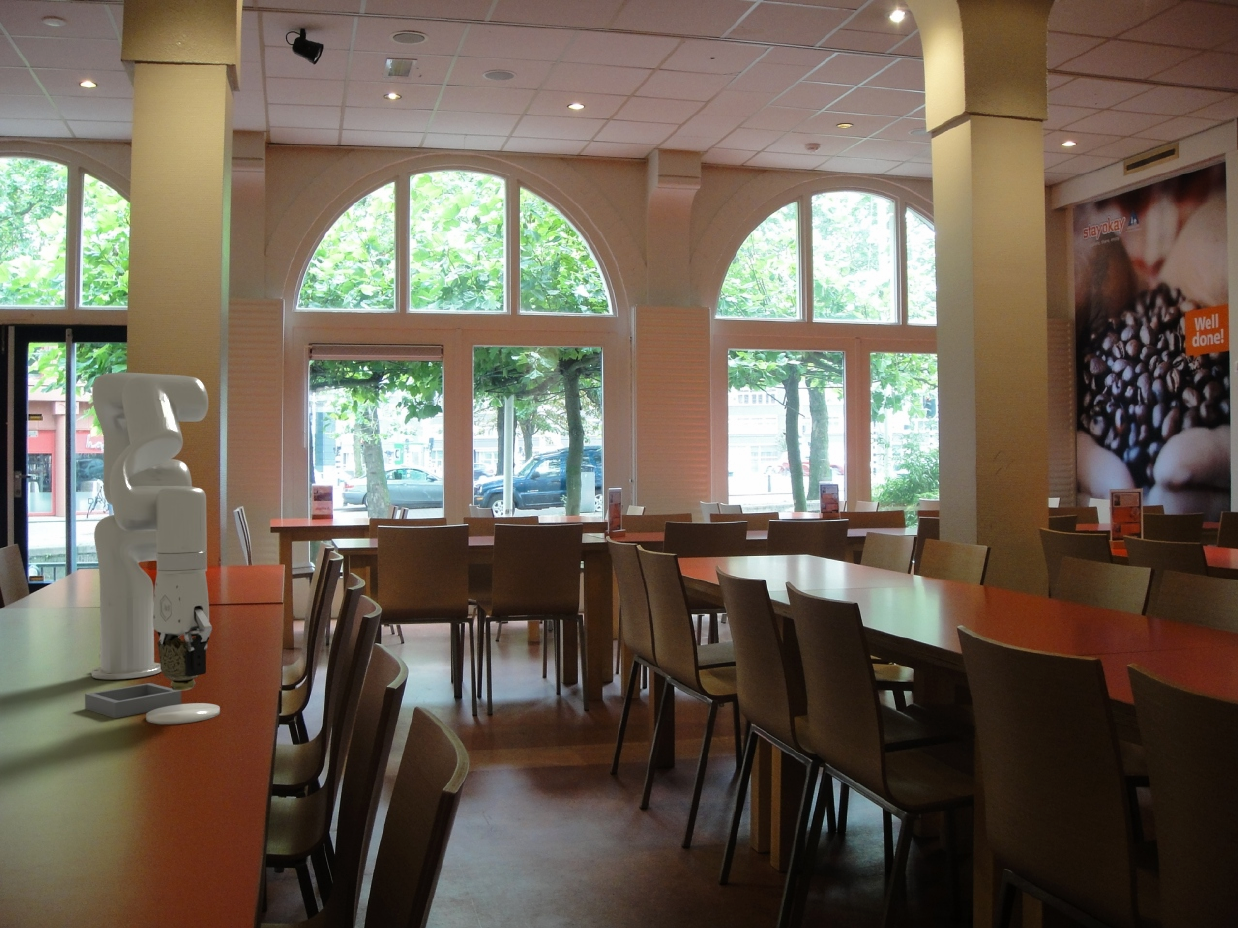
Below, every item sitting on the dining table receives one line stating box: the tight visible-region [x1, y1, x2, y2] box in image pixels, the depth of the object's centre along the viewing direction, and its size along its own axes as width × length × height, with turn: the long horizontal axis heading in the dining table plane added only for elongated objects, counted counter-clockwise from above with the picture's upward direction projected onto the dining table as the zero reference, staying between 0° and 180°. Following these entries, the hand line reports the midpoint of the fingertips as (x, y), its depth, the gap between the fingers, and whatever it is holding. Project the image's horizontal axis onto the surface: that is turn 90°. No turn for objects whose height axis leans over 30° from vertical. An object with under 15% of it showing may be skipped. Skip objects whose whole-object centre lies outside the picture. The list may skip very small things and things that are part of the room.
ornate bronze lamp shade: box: [157, 636, 200, 692], centre depth 165 cm, size 8×7×8 cm
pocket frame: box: [84, 682, 182, 719], centre depth 172 cm, size 11×11×2 cm
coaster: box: [145, 702, 221, 725], centre depth 165 cm, size 11×11×1 cm
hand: (183, 671), depth 165 cm, fingers closed on ornate bronze lamp shade, 7 cm apart
